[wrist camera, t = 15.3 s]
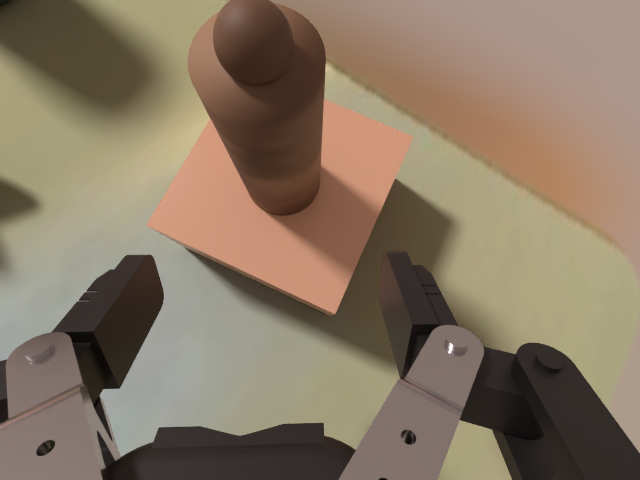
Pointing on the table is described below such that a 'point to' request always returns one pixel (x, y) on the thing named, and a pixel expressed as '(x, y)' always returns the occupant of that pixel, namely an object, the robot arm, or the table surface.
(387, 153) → the riser block
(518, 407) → the robot arm
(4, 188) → the table surface
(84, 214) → the table surface
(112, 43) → the table surface
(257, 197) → the pepper mill
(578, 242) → the table surface
